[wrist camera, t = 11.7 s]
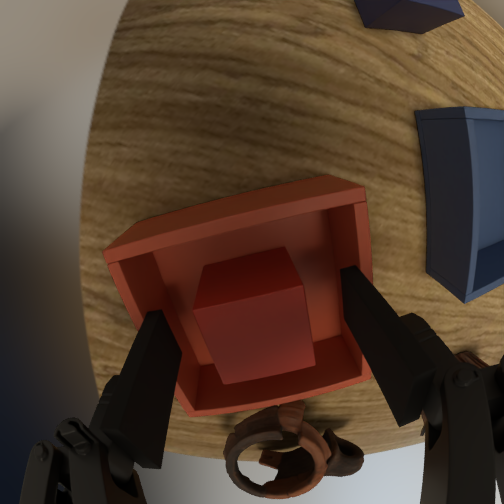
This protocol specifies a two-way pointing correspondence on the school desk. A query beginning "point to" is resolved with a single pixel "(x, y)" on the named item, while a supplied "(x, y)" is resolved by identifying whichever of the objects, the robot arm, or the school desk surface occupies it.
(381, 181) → the school desk surface
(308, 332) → the red block
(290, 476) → the brown curved open frame
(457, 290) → the slate-blue bin
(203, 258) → the terracotta bin
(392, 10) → the navy block
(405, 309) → the school desk surface
